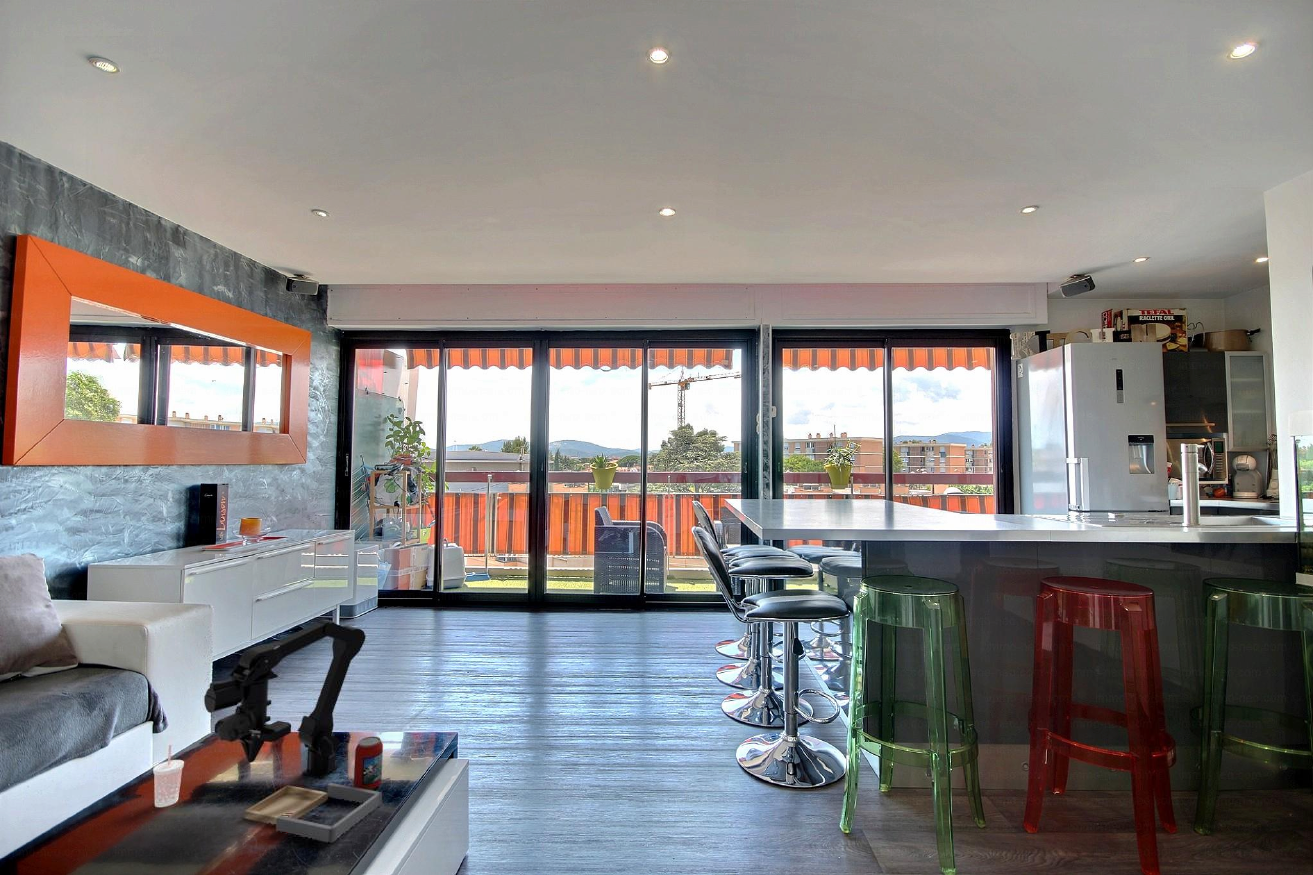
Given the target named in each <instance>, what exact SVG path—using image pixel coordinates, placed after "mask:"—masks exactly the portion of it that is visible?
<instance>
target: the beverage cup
mask: <svg viewBox="0 0 1313 875" xmlns="http://www.w3.org/2000/svg"><path fill="white" fill-rule="evenodd" d="M167 754H168V756H167V757H168V758H167V761H163V762H161V763H159V764H157V765H155V766H154V767H153V769H152V770H153V771H152V772H153V774H154V775H153V776H154V780H153V781H154V806H155V807H156V808H165V807H169V806H172V805H174V804H176V803H177V802H178V800H179V794H180V787H181V783H182V781H181V779H182V772H183V768H184V766H185V765H184V764H185V761H184V760H181V759H172V760H171V756H172V755H171V754H172V744H170V745H168V753H167Z"/></svg>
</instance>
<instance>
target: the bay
mask: <svg viewBox="0 0 1313 875" xmlns="http://www.w3.org/2000/svg"><path fill="white" fill-rule="evenodd" d="M326 793H328V798H333V799H338V800H342V799H344V800H343V801H347V800H348V801H349V802H352V801H356V802H355V803H357V802H359V804H360V805H359V806H358V807H356V808H355V809H354V810H352V811H350V813H348V814H347V815H345V816H344V817H342V818H341V819H340V820H339V821H337V822H336V823H334V824H333V825H332V826H331V825H326V824H321V823H317V822H311V821H308V820H303V819H300V818H299V819H294V818H289V817H284V816H279V817H277V822H276V825H275V827H276V828H275V832H278V831H284V832H288V833H293V834H296V835H300V836H299V837H301V836H302V838H305V837H308V838H307V839H310V838H312V839H311V840H315V839H316V841H319V842H324V843H328V842H330V844H333V843H334V842H335V841H336V840H338V839H339V838H341V835H342V834H343V833H344V834H346V833H347V832H348V831H349V830H351V829H352V828H353V827H355V826H356V825H357V824H359V821H360V820H361V819H362V820H364V819H365V818H366V817H367V816H369V815H368V813H370V812H371V813H372V812H373V810H374V811H375V810H377V809H378V808H379V807H381V806H382V801H383V800H382V799H383V798H382V797H383V792H381V791H377V790H376V791H375V790H366V789H361V788H355V787H354V786H350V785H343V784H339V783H334V782H330V783H328V784H327V792H326ZM362 803H363V804H362ZM378 806H379V807H378ZM377 807H378V808H377ZM371 813H370V814H371ZM366 815H367V816H366ZM365 816H366V817H365ZM364 817H365V818H364ZM362 820H361V821H362ZM361 821H360V822H361ZM356 823H357V824H356ZM355 824H356V825H355ZM352 826H353V827H352ZM351 827H352V828H351ZM350 828H351V829H350ZM346 831H347V832H346ZM344 834H343V835H344ZM296 835H295V836H296ZM343 835H342V836H343ZM337 838H338V839H337ZM332 842H333V843H332Z"/></svg>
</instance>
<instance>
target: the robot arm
mask: <svg viewBox="0 0 1313 875" xmlns="http://www.w3.org/2000/svg"><path fill="white" fill-rule="evenodd" d="M366 636H367V635H366V633H365V631H364V630H363V629H361V628H358V627H355V626H350V625H340V624H337V623H335V622H334V621H332V620H328V619H320V620H319V621H317V622H316V623H315V624H312V625H310V626H308V627H305V628H303V629H301V630H298V631H296V632H295V633H293V634H290V635H288V636H287V637H284V638H282V639H279V640H277V641H275V642H271V643H263V644H260V645H257V646H254V647H253V646H252V647H250V648H247V649H246V650H244V651H243V652H242V654H241V656H240V658H239V661H238V662H237V663H236V665H235V666H234V668H233V669H232V671H231V672H230V673H229V675H228V676H227V677H228V679H224V680H220V681H213V682H210V683H209V688H208V689H207V690H206V692H205V694H204V700H203V703H204V707H205V709H206V712H208V713H209V714H210V713H215V712H218V711H221V710H225V709H229V708H231V707H235V706H236V707H235V710H234V711H235V712H234V713H232V714H230V715H228V716H225V717H223V718H220V719H218V720H217V722H216V723H215V724H214V734H217V735H218V738H219V740H220V741H221V742H222V741H226V742H229V743H234V742H236V741H238V742H240V744H241V747H242V749H243V751H244V754H245V757H246V759H247V762H248V763H253V762H255V760H256V758H257V756H258V755H259V752H260V751H261V749H262V748H263V745H264V743H265V742H268V743H274V742H276V741H278V740H280V739H282V738H284V737H286V736H287V735H290V734H291V733H292V723H290V722H288V721H283V720H282V721H281V720H277V721H273V723H268V722H270V721H271V720H272V718H271V716H269V715H268V707H269V706H271V705H272V700H271V699H268V698H269V697H268V695H269V680H272V679H273V680H274V679H276V678H278V677H279V675H278V674H277V673H275V672H274V671H273V669H274V668H275V667H276V666H278V665H279V664H280V663H281V662H282V661H283V660H284V659H285V658H287V657H288V656H290V655H292V654H295V653H296V652H298V651H301V650H302V649H304V648H306V647H308V646H310V645H312V644H314V643H317V642H319V641H321V640H322V639H324V638H326V637H327V638H328V637H329V638H330V639H333V641H332V646H331V647H332V656H333V657H332V660H331V662H330V665H329V668H328V671H327V674H326V676H325V680H324V682H323V685H322V688H321V689H320V690H321V691H320V694H319V696H318V699H317V700H316V705H315V707H314V709H313V710H312V712H311V713H310V714H309V715H308V716H307V715H303V717H302V719H301V723H300V726H299V728H297V732H298V740H299V742H301V743H302V744H303V746H304V748H306V749H307V764H306V769H305V770H303V771H302V773H301V774H302V775H305V776H309V777H315V778H323V777H325V776H326V775H328V774H329V773H331V772H333V771H334V770H335V769H337V768H338V767H339V765H338V764H336V753H335V751H337V750H338V749H339V747H340V743H341V740H340V739H338V738H337V737H335V736H333V731H334V726H335V725H334V723H335V722H334V711H335V708H336V704H337V702H338V698H339V696H340V693H341V691H342V688H343V684H344V682H345V679H346V677H347V673H348V670H349V668H350V665H351V662H352V660H353V659H354V658H355V657H356V656H357V655H358V654H359V653H360V651H361V650H362V647H363V645H364V643H365V641H366ZM245 672H248V673H247V674H246V673H245Z"/></svg>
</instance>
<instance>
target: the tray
mask: <svg viewBox="0 0 1313 875" xmlns="http://www.w3.org/2000/svg"><path fill="white" fill-rule="evenodd" d="M328 798H329V797H328V793H327V792H325V791H320V790H315V789H310V788H305V787H299V786H293V785H290V784H288V785H285V786H284V787H282V788H280V789H279V790H277V791H275V792H274V793H271V795H269V796H267V797H265V798H264V799H262V800H260V801H258V802H257V803H256V804H253V805H252V806H251V807H249V808H247V809H245V810H244V812H243V814H244V815H243V819H246V820H251V821H256V822H261V823H264V824H269V823H271V824H270V825H274V824H276V822H277V817H279V816H281V815H290V816H289V818H294V819H298V818H299V819H301V818H303V817H304V816H305V815H307V814H308V813H310V812H311V811H313V810H314V809H315V807H316V808H317V807H318V805H319V806H320V805H321V804H323V803H324V802H326V801H328ZM312 809H313V810H312ZM286 813H293V814H286ZM306 813H307V814H306ZM303 815H304V816H303ZM284 817H288V816H284ZM300 817H301V818H300Z"/></svg>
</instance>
